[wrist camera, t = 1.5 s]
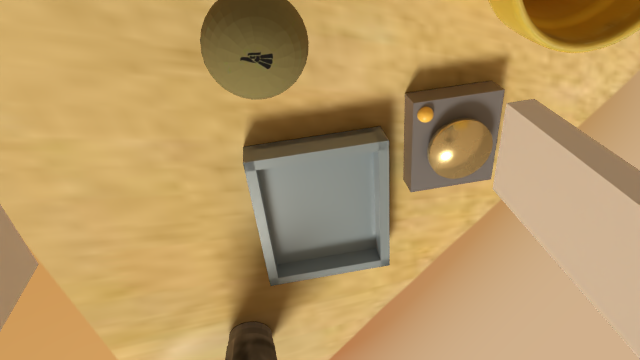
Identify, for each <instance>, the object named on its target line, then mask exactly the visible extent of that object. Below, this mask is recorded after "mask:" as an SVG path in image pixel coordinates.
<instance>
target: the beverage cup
mask: <svg viewBox="0 0 640 360" xmlns="http://www.w3.org/2000/svg"><path fill="white" fill-rule="evenodd" d="M225 360H277V357H276V351H275V345H274V343H273V338H272V332H271V330H270V328H269V327H268V326H266V325H264V324H262V323H258V322H247V323H242V324H240V325H238V326H236V327H235V328H234V329H233V330H232V331H231V333H230V335H229V342H228V346H227V351H226V358H225Z"/></svg>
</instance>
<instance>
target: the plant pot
mask: <svg viewBox="0 0 640 360" xmlns="http://www.w3.org/2000/svg"><path fill="white" fill-rule="evenodd" d="M488 1H489V3H490V6H491V7H492V9H493V11H494V12H495V14H496V15H497V17H498V18H499V19H500V20H501V21H502V22H503V23H504V24H505V25H506V26H507V27H509V28H510V29H512V30H513V31H515V32H516V33H518V34H520V35H521V36H523V37H525V38H527V39H529V40H531V41H533V42H535V43H537V44H539V45H542V46H544V47H546V48H549V49H552V50H556V51H560V52H567V53H580V52H588V51H593V50H597V49H601V48H604V47H607V46H610V45H612V44H615V43H617V42H619V41H621V40H623V39H625V38H627V37H628V36H630V35H632V34H633V33H635V32H637V31H638V30H640V0H488Z"/></svg>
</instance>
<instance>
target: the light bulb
mask: <svg viewBox="0 0 640 360" xmlns="http://www.w3.org/2000/svg"><path fill="white" fill-rule="evenodd" d="M200 44H201V53H202V56H203V59H204V63H205V65H206V67H207V69H208V71H209V72H210V74H211V75H212V77H213V78H214V79H215V80H216V82H217V83H218V84H220V85H221V86H222V87H223V88H224V89H226V90H227V91H229V92H231V93H233V94H234V95H237V96H240V97H243V98H248V99H266V98H271V97H274V96H276V95H279V94H281V93H282V92H284V91H285V90H287V89H288V88H290V87H291V86H292V85H293V84H294V83H295V82H296V80H297V79H298V78H299V76H300V75H301V73H302V71H303V69H304V66H305V64H306V60H307V56H308V36H307V31H306V28H305V25H304V22H303V20H302V18H301V16H300V15H299V13H298V12H297V10H296V9H295V8H294V7H293V5H292V4H291V3H290V2H288V1H287V0H218V1H217V2H215V3H214V5H213V6H212V7H211V8H210V10H209V12H208V13H207V15H206V17H205V19H204V22H203V25H202V29H201V38H200Z"/></svg>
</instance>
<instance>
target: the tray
mask: <svg viewBox="0 0 640 360" xmlns="http://www.w3.org/2000/svg"><path fill="white" fill-rule="evenodd" d="M243 165H244V169H245V174H246V178H247V183H248V187H249V192H250V196H251V201H252V205H253V209H254V214H255V218H256V223H257V227H258V232H259V236H260V241H261V245H262V250H263V254H264V258H265V263H266V267H267V272H268V276H269V281H270V285H271V286H273V285H279V284H284V283H290V282H296V281H302V280H307V279H313V278H319V277H324V276H330V275H336V274H342V273H347V272H353V271H359V270H365V269H370V268H376V267H382V266H387V265H389V140H388V138H387V136H386V135H385V133H384V132H383V130H382V128H381V127H380V126H379V127H372V128H365V129H359V130H352V131H345V132H339V133H332V134H326V135H319V136H312V137H306V138H299V139H292V140H286V141H279V142H273V143H266V144H259V145H253V146H246V147H243Z"/></svg>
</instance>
